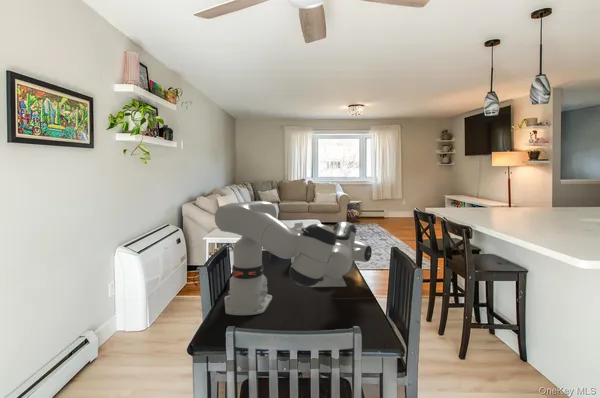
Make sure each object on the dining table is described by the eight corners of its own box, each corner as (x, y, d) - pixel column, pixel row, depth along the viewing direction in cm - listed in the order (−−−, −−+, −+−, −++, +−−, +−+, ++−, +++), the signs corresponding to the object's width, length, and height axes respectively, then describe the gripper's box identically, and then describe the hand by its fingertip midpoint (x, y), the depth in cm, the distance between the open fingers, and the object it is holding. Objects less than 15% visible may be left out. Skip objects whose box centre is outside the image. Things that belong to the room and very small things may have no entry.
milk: (306, 262, 195) (306, 222, 192) (298, 264, 190) (298, 224, 188) (299, 260, 199) (299, 221, 197) (290, 262, 195) (290, 222, 193)
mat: (346, 287, 156) (346, 286, 156) (308, 287, 155) (308, 286, 155) (340, 274, 174) (340, 273, 174) (305, 275, 173) (305, 274, 173)
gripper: (327, 257, 164) (307, 252, 174) (356, 250, 177) (336, 245, 187) (327, 244, 163) (307, 239, 174) (356, 238, 176) (336, 234, 187)
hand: (322, 242), depth 181 cm, fingers closed on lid, 5 cm apart
